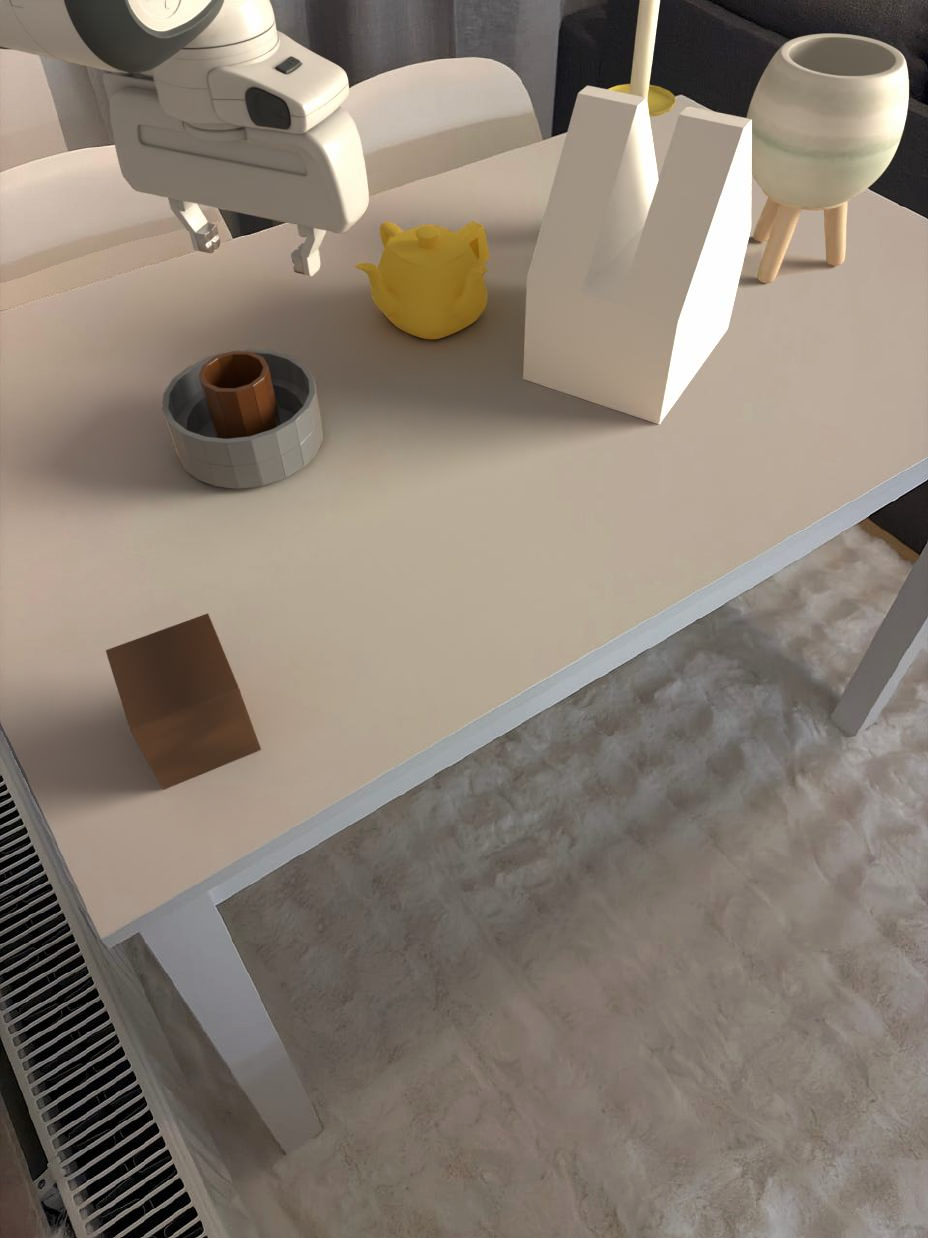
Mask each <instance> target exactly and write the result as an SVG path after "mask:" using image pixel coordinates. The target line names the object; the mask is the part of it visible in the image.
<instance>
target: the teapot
mask: <svg viewBox="0 0 928 1238" xmlns="http://www.w3.org/2000/svg"><path fill="white" fill-rule="evenodd" d="M379 235H380V239H381V240H380V241H381V242H382V246H383V251H382V254H381V256H380V259H379V262H378V265H376V264H374V263H371V262H360V263H357V264H355V265H354V268H355V269H358V270H361V271H363V272H364V273H365V274H366V276H367V278H368V281H369V287H370V294H371V298H372V300H373V303H374V305H376V307H377V308H378V309H379V310H380V311H381V312H382V313H383V314H384V315H385V317H386V318H387V319H388V320H389V321H390V322H391V324H393V325H394V326H395V327H397V328H398V329H399V330H401V331H403V332H405V333H407V334H409V335H411V336H414V337H417V338H420V339H425V340H438V339H442V338H446V337H448V336H451V335H454V334H456V333H458V332H461V331H462V330H463V329H466V328H467V327H469V326H471V325H472V324H473V323H474V322H476V321H477V320H478V319H479V318H480V317H481V316H482V314H483V313H484V311H485V309H486V307H487V304H488V290H487V285H486V280H485V277H484V274H486V273H488V272H489V268H487V267H485V265H486V263H488V260H489V259H490V258H491V256H490V255H491V254H490V250H489V245H488V239H487V234H486V230H485V226H484V225H483V224H481V223H479V222H477V221H474V220H473V221H470V222H469V223H467V224H466V225H464V226H462V227H461V228H460V229H459V228H458V230H456V231H452V230H450V229H448V228H445V227H443V226H440V225H437V224H420V225H417V226H414V227H413V228H410V229H407V230H403V229H402V228H401V227H399V226H398V225H397V224H395V223H394V222H391V221H384V222H382V223H380V226H379Z"/></svg>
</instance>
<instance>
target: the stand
mask: <svg viewBox="0 0 928 1238" xmlns="http://www.w3.org/2000/svg"><path fill="white" fill-rule="evenodd" d="M105 653H106V657H107V660H108V663H109V666H110V671H111V673H112V677H113V679H114V683H115V685H116V689H117V693H118V695H119V698H120V702H121V705H122V708H123V712H124V715H125V719H126V721H127V724H128V725H127V726H128V728H129V731H130V732H131V734H132V736H133V737H134V740H135V741H136V743H137V745H138V747H139V749H140V751H141V753H142V754H143V756H144V758H145V759H146V762H147V763H148V765H149V767H150V768H151V770H152V772H153V774H154V776H155V778H156V779H157V781H158V784H159V785H160V787H161V789H162V790H166V789H169V788H171V787H173V786H176V785H178V784H181V783H184V782H186V781H189V780H191V779H193V778H195V777H199V776H200V775H202V774H205V773H207V772H211V771H213V770H215V769H217V768H220V767H223V766H225V765H227V764H230V763H233V762H235V761H236V760H240V759H241V758H244V757H247V756H249V755H252V754H254V753H256V752H260V751H261V750H262V748H261V745H260V742H259V740H258V736H257V734H256V731H255V728H254V726H253V723H252V720H251V717H250V715H249V712H248V709H247V706H246V703H245V700H244V698H243V695H242V693H241V690H240V687H239V684H238V682H237V680H236V677H235V675H234V672H233V670H232V668H231V667H232V666H231V664H230V663H229V660H228V658H227V656H226V653H225V651H224V648H223V646H222V643H221V640H220V637H219V636H218V633H217V631H216V629H215V626H214V624H213V621H212V619H211V616H210V614H209V613H204V614H202V615H199V616H196V617H194V618H190V619H189V620H185V621H183V622H180V623H177V624H175V625H171V626H169V627H166V628H163V629H161V630H160V629H159V630H157V631H155V632H153V633H152V632H151V633H149V634H146V635H143V636H141V637H139V638H136V639H133V640H130V641H127V642H125V643H121V644H118V645H115V646H114V647H111V648H107V649H105Z"/></svg>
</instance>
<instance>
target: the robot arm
mask: <svg viewBox="0 0 928 1238" xmlns="http://www.w3.org/2000/svg"><path fill="white" fill-rule="evenodd" d="M273 8H274V7H273V6H272V3H271V1H270V0H0V50H12V51H16V52H17V51H18V52H22V53H26V54H30V55H35V56H39V57H42V58H43V57H44V58H47V59H52V60H57V61H60V62H65V63H72V64H74V65H75V64H76V65H79V66H83V67H87V68H92V69H98V70H103V71H104V72H103V74H102V82H103V86H104V89H105V94H106V96H107V99H108V102H109V118H110V125H111V132H112V137H113V142H114V143H113V144H114V148H115V153H116V157H117V160H118V165H119V169H120V172H121V176H122V177H123V178H124V179H125V181H126V182H127V184H128V185H129V186H130V187H131V189H132V190H134V191H135V192H139V193H143V194H147V195H152V196H157V197H162V198H167V200H168V204H169V207H170V210H171V211H172V212H173V214H174V215H175V217H176V218H177V219H178V220H179V222H180V223H181V224H182V225H183V227H184V228H185V230H186V231H187V232H189V233H188V234H189V236H190V240H191V245H192V248H193V250H194V251H197V252H201V253H206V254H214V252H215V251H216V250H218V249H219V248H220V247H221V239H220V236H219V230H218V226H217V224H215V223H211V222H209V221H208V220H207V218H206V216H205V215H204V212H203V211H202V210H201V208H200V205H201V206H204V207H205V206H206V207H209V208H210V207H211V208H214V209H220V210H224V211H229V212H235V213H239V214H244V215H249V216H252V217H258V218H263V219H266V220H267V219H268V220H271V221H272V220H273V221H277V222H281V223H286V224H287V223H288V224H291V225H295V226H296V225H297V231H298V236H300V237H301V238H305V239H304V243H302V242H301V244H300V245H299V246H298V247H297V248H296V249H294V250H293V251H292V252H290V257H291V262H292V264H293V268H292V269H293V272H294V273H296V274H300V275H304V276H308V277H313V276H315V274H316V273H318V272H319V271H320V268H321V256H320V250H319V248H320V247H321V244H322V242H323V240H324V238H325V235H326V234H327V232H329V233H334V234H345V233H346V232H347V231H349V230H350V229H351V228H352V227H354V225H355V224H356V223H358V221H359V220H360V219H361V218H363V217H362V216H364V214H365V212H366V211H367V209H368V207H369V203H370V194H369V193H370V191H369V183H368V176H367V175H368V173H367V168H366V162H365V155H364V150H363V146H362V141H361V136H360V133H359V130H358V127H357V125H356V123H355V121H354V118H353V117H352V116H351V114H350V113H349V112H348V111H347V110H346V109H344V108H343V107H342V104H343V103H344V102H346V100H347V99H348V97H349V95H350V86H349V85H350V83H349V78H348V75H347V72H346V71H345V70H344V69H343V68H342V67H341V66H340V65H338V64H336V63H334V62H332V61H331V60H329V59H327V58H325V57H323V56H321V55H319V54H317V53H316V52H313V51H312V50H310V49H309V48H307V47H305V46H304V45H302V44H300V43H298V42H296V41H295V40H294V39H292V38H290V37H289V36H288V35H287V34H285V33H283V32H282V31H279V30H277V24H276V18H275V13H274V9H273Z"/></svg>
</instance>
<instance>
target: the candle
mask: <svg viewBox="0 0 928 1238" xmlns="http://www.w3.org/2000/svg"><path fill="white" fill-rule="evenodd" d="M660 3H661V0H639V4H638V13H637V22H636V28H635V29H636V30H635V38H634V39H635V40H634V49H633V56H632V66H631V75H630V83H625V84H617V85H615V86H612V87H610V88H607V90H612V91H617V92H621V93H626V94H631V95H636V96H641V97H646V98H647V104H648V111H649V118H651V117H658V116H662V115H663V114H666V113H669V112H670V111H671V110H672V109H673V108H674V107H675V105H676V95H674V94H673V93H672V92H671V91H670V90H668V89H666V88H663V87H661V86H659V85H658V86H657V85H652V84H650V81H651V74H652V65H653V60H654V59H653V57H654V51H655V43H656V34H657V26H658V19H659V10H660Z"/></svg>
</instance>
